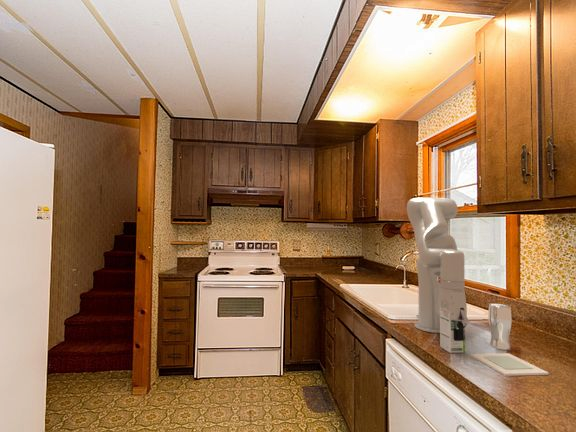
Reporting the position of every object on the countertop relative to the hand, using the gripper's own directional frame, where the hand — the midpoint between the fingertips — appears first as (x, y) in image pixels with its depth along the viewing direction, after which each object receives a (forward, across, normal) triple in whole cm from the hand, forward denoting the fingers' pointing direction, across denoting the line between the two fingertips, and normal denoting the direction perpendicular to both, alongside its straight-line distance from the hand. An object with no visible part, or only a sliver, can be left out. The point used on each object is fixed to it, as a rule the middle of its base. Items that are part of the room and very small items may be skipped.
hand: (452, 336), depth 105 cm
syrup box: (+5, 0, 0) cm, 5 cm away
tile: (+5, +12, +10) cm, 16 cm away
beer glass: (+5, -2, +20) cm, 21 cm away
